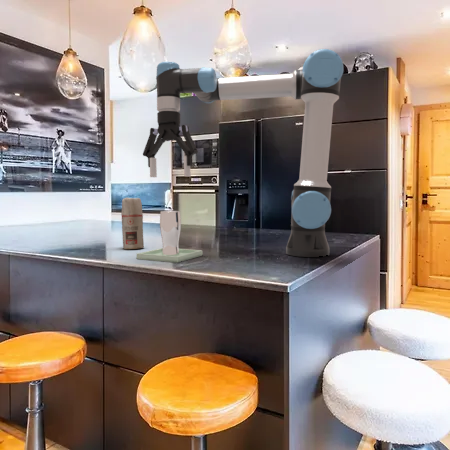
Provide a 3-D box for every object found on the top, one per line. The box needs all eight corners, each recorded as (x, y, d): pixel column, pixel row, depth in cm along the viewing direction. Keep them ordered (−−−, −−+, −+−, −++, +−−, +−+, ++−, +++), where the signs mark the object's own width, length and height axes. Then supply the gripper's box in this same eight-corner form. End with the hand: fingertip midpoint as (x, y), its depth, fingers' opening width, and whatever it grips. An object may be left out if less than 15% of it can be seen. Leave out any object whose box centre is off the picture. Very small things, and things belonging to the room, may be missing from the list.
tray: (202, 255, 142) (202, 250, 142) (177, 262, 128) (177, 257, 128) (164, 252, 149) (164, 247, 149) (136, 259, 135) (136, 253, 135)
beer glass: (177, 257, 135) (176, 212, 133) (157, 256, 136) (156, 211, 135) (183, 254, 141) (183, 210, 140) (164, 253, 143) (164, 210, 141)
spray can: (117, 249, 157) (116, 197, 156) (130, 246, 165) (129, 197, 163) (136, 250, 154) (135, 197, 153) (148, 247, 162) (147, 197, 160)
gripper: (207, 110, 132) (208, 176, 134) (145, 117, 144) (146, 177, 145) (195, 106, 126) (196, 175, 127) (131, 113, 137) (133, 177, 139)
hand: (170, 176), depth 136 cm, fingers open, 13 cm apart
